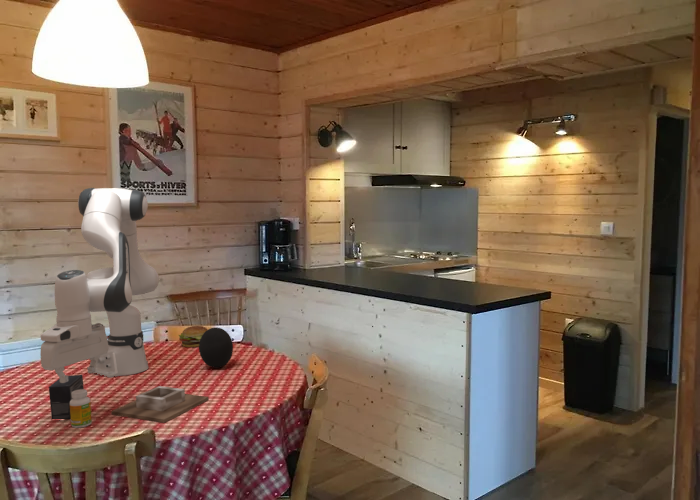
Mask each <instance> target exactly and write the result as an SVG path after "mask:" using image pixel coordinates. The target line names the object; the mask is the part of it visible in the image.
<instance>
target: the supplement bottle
mask: <svg viewBox="0 0 700 500" xmlns="http://www.w3.org/2000/svg"><path fill="white" fill-rule="evenodd" d="M71 394H72V398H73V399H72V400H71V401H70V416H71V420H70V426H71V427H72V428H73V429H74V428H75V429H81V428H86V427H88V426H90V425H91V424H92V423H93V419H92V407H91V406H92V405H91V403H92V402H91V398H90V397H88V391H87V389H85V388H84V389H80V390H75V391H73V392H72V393H71Z"/></svg>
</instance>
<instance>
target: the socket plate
mask: <svg viewBox="0 0 700 500" xmlns="http://www.w3.org/2000/svg"><path fill="white" fill-rule="evenodd" d="M207 401H209V396H205V395H196V394H189V393H186V391H185V389H184V388H178V387H169V386H161V385H158V386H156V387H154V388H152V389H149V390H146V391H145V392H141V393H139V394H138V395H135V400H133V401H131V402H129V403H127V404H125V405H122V406H120V407H118V408H115V409H113V410H111V411H110V412H111V415H112V416H119V417H125V418H131V419H138V420H143V421H149V422H155V423H157V422H158V423H163V424H165V423H167V422H169V421H171V420H172V419H175V418H176V417H178V416H181V415H182V414H185V413H186V412H188V411H190V410H192V409H194V408H196V407H197V406H200V405H201V404H204V403H205V402H207Z"/></svg>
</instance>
